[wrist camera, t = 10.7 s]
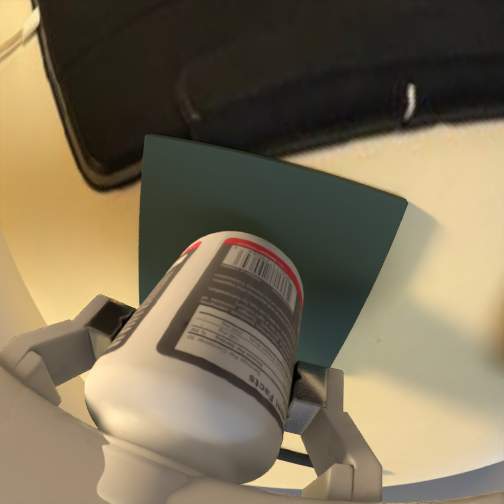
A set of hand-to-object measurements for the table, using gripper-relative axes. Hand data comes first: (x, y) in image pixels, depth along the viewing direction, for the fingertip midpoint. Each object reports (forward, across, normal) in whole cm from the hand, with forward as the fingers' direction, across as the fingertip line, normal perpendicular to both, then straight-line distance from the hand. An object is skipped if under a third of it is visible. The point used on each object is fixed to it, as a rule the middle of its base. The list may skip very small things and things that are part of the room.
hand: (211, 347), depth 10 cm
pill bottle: (+4, 0, 0) cm, 4 cm away
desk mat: (+5, 0, 0) cm, 5 cm away
